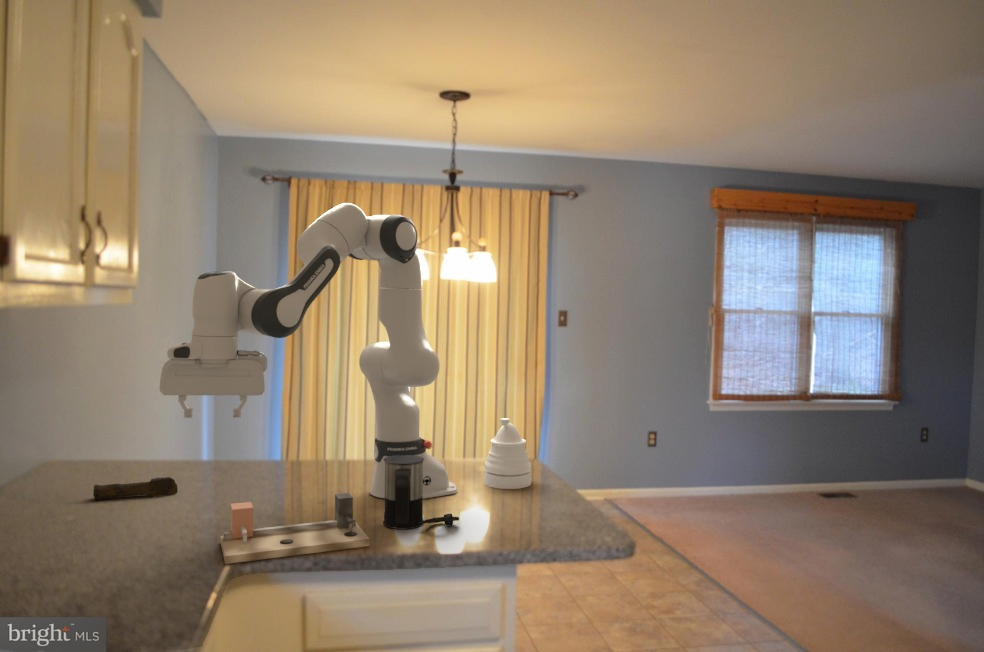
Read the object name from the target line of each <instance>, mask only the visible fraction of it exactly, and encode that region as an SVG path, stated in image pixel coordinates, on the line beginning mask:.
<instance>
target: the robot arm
mask: <svg viewBox="0 0 984 652" xmlns="http://www.w3.org/2000/svg"><path fill="white" fill-rule="evenodd" d="M418 238H419V237H418V232H417V229H416V226H415V224H414V222H413V221H412V220H411V219H410V218H409V217H407V216H404V215H400V214H391V215H390V214H374V215H372V216H367V215H366V213H365V212H364V211H363V210H362V209H361V208H360V207H359V206H358V205H356V204H353V203H350V202H343V203H340V204H338V205H335V206H334V207H333V208H331V209H329V210H327V211H326V212H324V213H323V214H321V216H319V217H318V218H316V219H315V220H314V221H313V222H312V223H311V224H309V225H308V226H307V227H306V228H305V230H304V231H302V233H301V234H300V236H299V237H298V239H297V240H296V241H297V242H296V250H297V251H296V252H297V255H298V257H299V260H300V261H301V262H302V264H303V265H304V266H302V268H300V269H299V271H298V272H297V273H296V274H295V275H294V276H293V278H291V280H290V281H289V282H288V283H287V284H285V285H283V286H280V287H276V288H268V289H267V288H266V289H265V288H256V287H255V286H253V285H251V284H248V283H247V282H245V281H244V280H242V279H241V278H240V277H239V276H237V274H236V272H234V271H231V270H221V271H210V272H209V271H208V272H205V273H202V274H200V275H199V276H198V277H197V278H196V280H195V284H194V287H193V288H194V289H193V296H192V318H193V321H194V322H193V328H192V332H191V340H190V342H183V343H181V344H178V345H174V346H171V347H170V348H168V349H167V351H166V352H167V353H166V354H167V358H168V360H167V361H165V362H164V364H163V366H162V369H161V373H160V379H159V392H160V393H161V394H162V395H163V396H178V403H179V404H180V407H182V409H183V418H184V419H188V418H190V419H191V418H193V412H194V410H193V407H189V406H188V404H187V403H186V401H187V399H188V396H239V402H240V404H239V406H238V407H234V408H233V415H232V416H233V417H232V418H241V416H242V409H243V407H244V405H245V404H246V403H247V401H248V396H262V395H263V394H264V393H265V391H266V384H265V382H266V381H265V372H266V370H267V368H268V357H267V355H266V354H264V352H261V351H260V350H245V349H244V350H243V349H242V350H241V349H240V350H238V341H239V340H238V338H239V336H238V334H239V332H241V333H244V334H251V335H252V334H253V335H262V336H267V337H270V338H271V337H272V338H275V339H276V338H277V339H283V338H287V337H289V336H291V335H293V334H294V333H295V332H296V331H297V330H298V329H299V327H300V325H301V324H302V322H303V319H304V318H305V315H306V313H307V311H308V309H309V307H310V306H311V305H312V304H313V302H314V301H315V300H316V299H317V297H318V296H319V295H320V294H321V293H322V291H324V289H325V288H326V286H327V285H328V284H329V283H330V282H331V280H332V279H333V278H334V276H335V275H336V273H337V272H338V271H339V268H340V266H341V264H342V263H343V262H344V261H345V260H346V259H347V257H349V258H352V259H354V260H358V261H365V260H366V261H377V263H378V265H379V269H380V271H379V272H380V273H379V282H378V283H379V284H378V307H377V308H378V311H377V316H378V320H379V321H380V323H381V324H382V325H383V327H384V328H385V331H386V333H387V337H388V340H387V341H386V340H384V341H383V340H382V341H378V342H374V343H370V344H368V345H366V346H365V347H364V349H362V351H361V352H360V355H359V361H358V362H359V368H360V371H361V373H362V374H363V375H364V377H366V380H367V381H368V384H369V387H370V389H371V392H372V397H373V400H374V405H375V416H376V417H375V418H376V420H375V421H376V424H375V425H376V437H375V439H374V444H373V445H374V446H373V448H374V451H373V453H374V454H373V455H374V461H375V462H374V463H375V464H374V472H373V479H372V483H371V486H370V490H369V495H372V496H373V497H376V498H380V499H385V461H384V458H386V457H389V456H395V455H415V456H420V457H423V458H424V461H423V495H422V496H423V499H422V500H424V499H429V498H430V499H431V498H435V497H441V496H442V497H443V496H448V495H453V494H455V495H456V493H457V492H458V490H457V489H458V488H457V486H456V484H455V483H454V482H452V481H451V480H449V476H448V475H449V474H448V470H447V469H446V466H445V465H444V464H443V463H442V462H440V461H439V460H438V459H437V458H436V457H434V456H433V455H431V454H430V453H428V451H427V450H430V449H432V448H433V442H432V441H430V440H428V439H425V438H422V437H420V407H419V405H418V404H417V402H415V400H414V399H413V397H412V395H411V391H410V388H419V387H426V386H429V385H431V384H432V383H433V382H434V381H435V380H436V379H437V377H438V374H439V373H440V368H441V367H440V359H439V357H438V355H437V353H436V352H435V351H434V350H433V348H432V347H431V345H430V343H429V341H428V338H427V336H426V333H425V327H424V323H423V273H422V266H421V265H422V263H421V257H420V254H419V253H418V251H417V248H418V242H419V241H418Z"/></svg>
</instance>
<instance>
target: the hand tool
mask: <svg viewBox="0 0 984 652" xmlns="http://www.w3.org/2000/svg"><path fill="white" fill-rule="evenodd" d="M175 494H178V484H177V482H176V480H175V479H173V478H171V476H168V477H167V476H166V477H155V478H151V479H150V481H144V482H143V481H142V482H131V483H112V484H111V483H110V484H103V485H100V484H94V485H93V497H94V498H93V499H94V501H97V500H101V501H102V500H104V499H112V498H122V497H125V498H126V497H136V496H151V497H155V496H156V497H162V496H163V497H164V495H165V496H169V495H175Z"/></svg>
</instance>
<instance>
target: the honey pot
mask: <svg viewBox="0 0 984 652" xmlns="http://www.w3.org/2000/svg"><path fill="white" fill-rule="evenodd" d="M499 419H500V420H499V421H500V424H501V426H500V428H499V429H498V431H497V433H496V434H495V436H494V438H491V439H490V442H489V443H490V444H491V447H490V449H489V450H488V455H487V457H486V461H485V463H484V471H483V472H484V473H483V475H484V479H483V480H484V481H483V484H484V485H485V486H488V487H489V488H494V489H500V490H502V489H504V490H516V489H517V490H518V489H523V488H527V487H529V486H531V485H532V463H531V462H530V457H529V455H528V454H529V452H528V451H527V449H526V445H527V440H526V439H524V438H523V437H522V436H521V433H520V431H519V430H518V428H517V427H516V426H515V425H514V424H513V423H511V422H510V420H511V419H510V418H507V417H506V418H505V417H502V418H499Z"/></svg>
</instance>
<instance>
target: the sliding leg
mask: <svg viewBox="0 0 984 652" xmlns="http://www.w3.org/2000/svg"><path fill="white" fill-rule="evenodd" d="M253 529H254V506H253V504H252V502H251V501H245V502H237V503H230V532H231V531H232V538H241V537H243V544H247V537H250V536H253Z"/></svg>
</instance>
